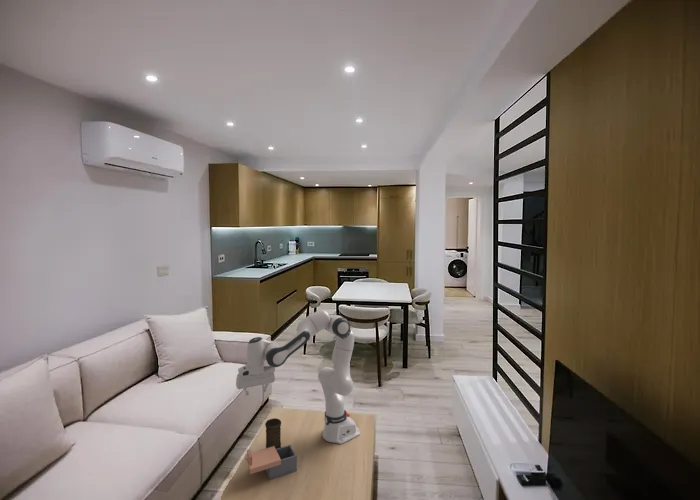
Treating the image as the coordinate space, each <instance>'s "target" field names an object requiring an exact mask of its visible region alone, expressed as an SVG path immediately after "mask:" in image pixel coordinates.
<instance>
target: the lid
mask: <svg viewBox="0 0 700 500" xmlns="http://www.w3.org/2000/svg"><path fill="white" fill-rule="evenodd" d="M244 460H245V461H246V464H247V466H248V469H249V475H253V474H255V473H259V472H262V471H266V470H265V469H268V468H271V467H275V466H278V465H281V459H280V457H279V455H278V453H277V451H276V449H275V447H274V446H272V447H269V448H266V447H265V448H263V449H260V450H256V451H252V452H251V449H247V450H246V453H245V454H244Z"/></svg>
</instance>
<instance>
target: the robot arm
mask: <svg viewBox="0 0 700 500" xmlns="http://www.w3.org/2000/svg"><path fill="white" fill-rule="evenodd" d="M296 327H297V328H296V334H295V336H294V337H293V338H291V339H290V340H289V341H288V342H286V343H284V344H283V345H282V346H280V344H279V343H278V342H277V341H275V340H269V339H264V338H263V337H261V336H257V337H252V338H251V339H249V341H248V342H247V349H246V357H247V361H246V364H245V365H243V366H241V367H239V368H238V370H237V371H238V372H237V375H236V379H235V386H236V389H237V390H242V389H243V391H244V392H245V393H244V395H245V396H249V395H250V393H249V390H247V388H248V389H249V388H251V387H252V388H253V387H256V386H262V385H263V386H264V387H262V392H264V393H265V392H267V389H268V386H269V384H271V383H272V384H273V383H274V382H275V381H276V375H275V372H276V368H278V367H281V366H282V365H284V364H285V363H286V361H287V360H288V359H289V357H291V356H292V355H293V354H294V353H296V352H297V351H298V350H299V349H300V348H302V347H303V346H304V345H305V344H306V343H307V342H308V341H309V340H310V339H311V338H313V337H314V336H315V335H317V334H319V333H320V332H321V331H323V330H326V331H328V332H329V333H330V334H333V335H335V337H336V338H335V344H334V347H333V350H332V353H331V354H332V355H331V363H332V364H333V368H332V367H327V366H324V367H323V368H321V369H320V370H319V372H318V374H317V379H318V381H319V383H320V385H321V388H322V390H323V396H324V400H325V401H324V402H325V412H324V428H323V431H322V435H321V436H322V438H323V440H325V441H327V442H328V443H336V444H338V445H342V444H345V443H346V442H348V441H351V440H353V439H354V438H357V437H359V436H361V431H360V429H359V427H358V426H357V425H356V423H355V421H354V419H353V418H351V414H350V412H348V411H347V410H346V409H345V399H344V397H345V396H349V395H350V394H351V393H352V392H353V389H354V381H353V379H352V376H351V371H350V370H351V369H350V368H351V367H350V364H351V359H352V355H353V351H354V345H355V332H353V331H352V329H351V325H350V322H349V321H348V320H347V318H346V317H344V316H342V315H338V314H335V313H332V314H329V313H328V311H326V310H324V309H320V310H317V311H314V312H313V313H311V314H309V315H308V316H306V317H305V318H303V319H301V321H299V322H298V323H297V326H296ZM265 361H266V363H267V364H268V365H265Z"/></svg>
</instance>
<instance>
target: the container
mask: <svg viewBox="0 0 700 500" xmlns="http://www.w3.org/2000/svg"><path fill="white" fill-rule="evenodd" d="M281 425H282V421H281V420H280V419H279V418H270V419H268V420H267V421H265V449H266V448H269V447H272V446H274V447H275V449H277V448H281V445H282V442H281V430H282V428H281Z"/></svg>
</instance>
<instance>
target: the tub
mask: <svg viewBox="0 0 700 500" xmlns="http://www.w3.org/2000/svg"><path fill="white" fill-rule="evenodd" d="M276 451H277V453H278V455H279V457H280V459H281V465H278V466H275V467H271V468H268V469H265V470H264V471H265V472H266V474H267V477H268V479H269V480H270V481H271V480H273V479H276V478H279V477H283V476H285V475H288V474H291V473H295V472H297V470H298V456H297V454H296V452H295V450H294V448H293V447H292V444H289V445H284V446H282V447H281V448H277V449H276Z"/></svg>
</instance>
